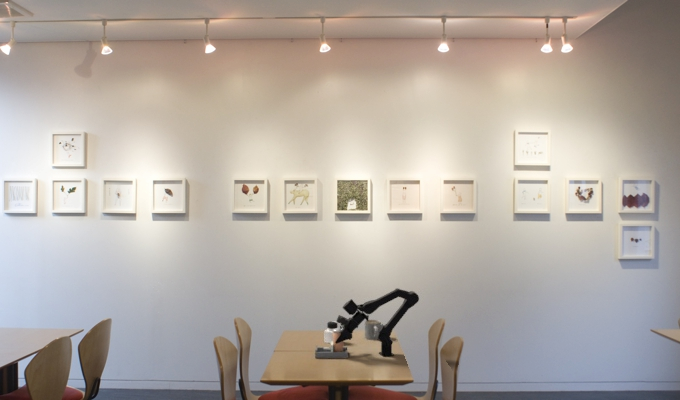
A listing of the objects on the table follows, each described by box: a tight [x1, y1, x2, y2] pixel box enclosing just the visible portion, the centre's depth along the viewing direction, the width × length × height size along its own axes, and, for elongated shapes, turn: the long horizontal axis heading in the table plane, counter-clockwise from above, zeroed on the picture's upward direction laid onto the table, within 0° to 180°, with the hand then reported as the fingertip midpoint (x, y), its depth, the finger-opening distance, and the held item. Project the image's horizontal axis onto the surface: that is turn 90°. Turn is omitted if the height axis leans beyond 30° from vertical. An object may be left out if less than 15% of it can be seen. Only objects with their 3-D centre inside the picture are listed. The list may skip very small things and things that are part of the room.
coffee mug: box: [364, 319, 382, 341], centre depth 289 cm, size 13×10×10 cm
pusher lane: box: [314, 345, 349, 359], centre depth 255 cm, size 18×10×4 cm, turn 92°
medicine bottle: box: [323, 320, 339, 345], centre depth 281 cm, size 7×7×12 cm
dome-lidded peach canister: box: [333, 327, 344, 352], centre depth 256 cm, size 6×6×13 cm
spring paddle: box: [324, 342, 333, 352], centre depth 255 cm, size 5×7×6 cm
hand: (335, 341), depth 256 cm, fingers closed on dome-lidded peach canister, 5 cm apart
